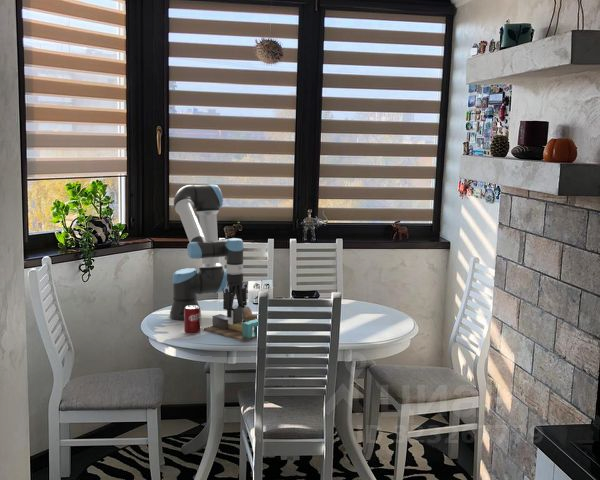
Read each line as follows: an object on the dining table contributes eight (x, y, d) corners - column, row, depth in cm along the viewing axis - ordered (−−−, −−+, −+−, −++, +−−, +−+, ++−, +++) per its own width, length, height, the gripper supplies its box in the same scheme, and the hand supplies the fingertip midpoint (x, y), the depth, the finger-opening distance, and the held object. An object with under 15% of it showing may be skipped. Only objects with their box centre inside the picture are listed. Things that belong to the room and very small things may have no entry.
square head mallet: (213, 324, 348) (213, 303, 346) (221, 322, 351) (221, 301, 350) (240, 332, 336) (240, 310, 334) (248, 330, 340) (248, 308, 338)
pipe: (270, 314, 357) (272, 305, 366) (236, 313, 358) (239, 305, 367) (271, 326, 359) (273, 317, 368) (236, 325, 360) (239, 316, 369)
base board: (203, 330, 346) (203, 328, 346) (226, 324, 356) (226, 322, 356) (244, 341, 328) (244, 339, 328) (266, 335, 339) (266, 332, 338)
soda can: (181, 332, 342) (180, 307, 340) (193, 329, 347) (192, 304, 345) (191, 335, 337) (191, 309, 335) (203, 332, 342) (203, 306, 341)
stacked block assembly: (208, 327, 347) (208, 313, 345) (224, 323, 354) (224, 309, 353) (248, 338, 330) (247, 324, 329) (263, 333, 337) (263, 319, 336)
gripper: (225, 277, 328) (226, 328, 332) (254, 271, 342) (255, 320, 346) (214, 274, 333) (214, 325, 337) (243, 268, 347) (243, 317, 350)
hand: (235, 322), depth 341 cm, fingers closed on square head mallet, 5 cm apart
